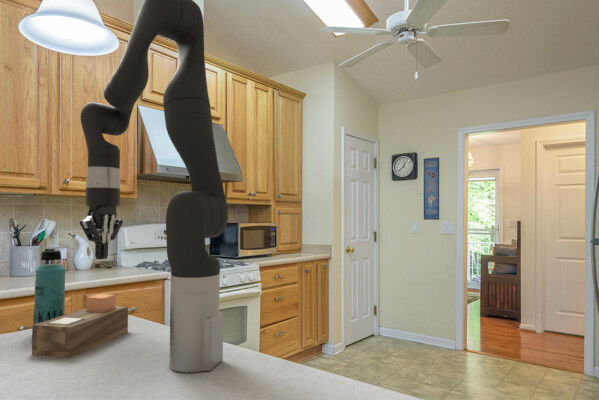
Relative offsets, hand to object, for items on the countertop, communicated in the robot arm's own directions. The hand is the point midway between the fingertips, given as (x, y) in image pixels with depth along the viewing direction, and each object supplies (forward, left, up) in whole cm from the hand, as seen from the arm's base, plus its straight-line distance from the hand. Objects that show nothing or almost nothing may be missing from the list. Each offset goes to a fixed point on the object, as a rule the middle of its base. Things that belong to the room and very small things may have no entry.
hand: (101, 258), depth 98 cm
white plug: (0, +11, -17) cm, 20 cm away
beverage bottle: (+12, +2, -18) cm, 22 cm away
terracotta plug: (0, 0, -14) cm, 14 cm away
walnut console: (0, +5, -18) cm, 19 cm away
